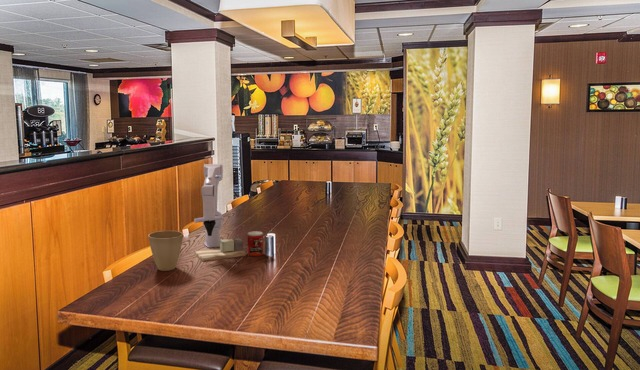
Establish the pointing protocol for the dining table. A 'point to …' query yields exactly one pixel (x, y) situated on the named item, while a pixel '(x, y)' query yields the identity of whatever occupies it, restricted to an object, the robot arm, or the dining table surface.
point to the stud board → (217, 253)
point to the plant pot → (166, 248)
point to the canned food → (255, 243)
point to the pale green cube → (226, 245)
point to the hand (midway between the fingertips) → (209, 235)
